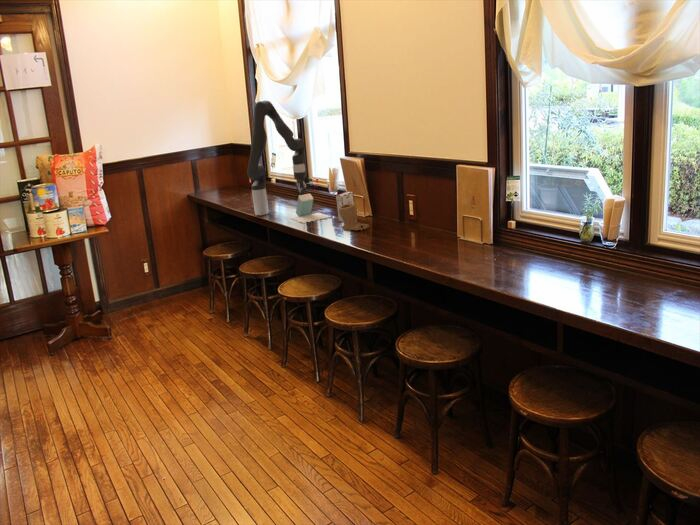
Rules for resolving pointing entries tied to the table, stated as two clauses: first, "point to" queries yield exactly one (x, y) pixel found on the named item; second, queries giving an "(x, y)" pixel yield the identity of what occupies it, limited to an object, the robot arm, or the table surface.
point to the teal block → (304, 205)
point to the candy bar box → (344, 201)
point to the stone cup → (350, 217)
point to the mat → (311, 217)
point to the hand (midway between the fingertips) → (302, 198)
